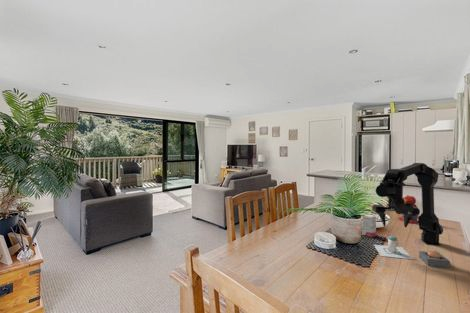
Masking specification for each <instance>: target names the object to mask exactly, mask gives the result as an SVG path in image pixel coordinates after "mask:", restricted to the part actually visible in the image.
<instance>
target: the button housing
mask: <svg viewBox="0 0 470 313" xmlns="http://www.w3.org/2000/svg"><path fill="white" fill-rule="evenodd" d="M418 258H419V259H420V260H421V261H422V262H423V263H424V264H426V265H427V266H428V267H429V266H430V267H436V268H437V267H438V268H446V269H447V268H448V269H450V268H451V267H450V266H451V261H450V259H448V258H447V257H446V256H444V255H443V254H441V253H440V259H438V258H430V257H429V256H428V255H427V251H423V250H418Z"/></svg>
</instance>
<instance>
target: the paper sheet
mask: <svg viewBox="0 0 470 313" xmlns="http://www.w3.org/2000/svg"><path fill="white" fill-rule="evenodd" d="M374 246H375V247H374ZM373 247H374V248H375V249H376V250H377V253H378V254H379V255H380V256H381V257H384V258H392V259H394V258H395V259H404V260H415V259H414V258H413V257H412V256H411V255H410V254H409V253H408V251H406V250H405V249H404V247H401V246H400V247H399V246H397V252H396V253H391V252H389V251H388V245H382V244H380V245H379V244H373Z"/></svg>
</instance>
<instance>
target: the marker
mask: <svg viewBox="0 0 470 313" xmlns="http://www.w3.org/2000/svg"><path fill="white" fill-rule="evenodd" d="M387 246H388V251H389V252H391V253H396V252H397V247H398V238H397V237H396V236H393V235H389V236H388V239H387Z"/></svg>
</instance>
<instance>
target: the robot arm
mask: <svg viewBox="0 0 470 313" xmlns="http://www.w3.org/2000/svg"><path fill="white" fill-rule="evenodd" d="M412 175H415V177H416V179H417V182H418V184H419V185H420V186H421V207H422V208H421V209H422V210H420V209H419V208H418V207H417V208H416V207H414V206H413V204H412V203H407V204H406V203H404V197H403V195H404V192H403V190H404V187H405V186H406V184H405V181H406V180H407V179H408V177H409V176H412ZM438 179H439V173H438V172H437V171H436V170H435V169H434V168H432V167H430V166H428V165H427V164H426V163H423V162H413V163H411V164H409V165H407V166H403V167H401V168H389V169H388V170H387V171H386V172H385V175H384V176H383V178H382V180H381V181H380V182H379V185H377V186H376V188H375V193H376V195H377V196H378V197H380V198H385V197H386V198H387V200H388V201H387V204H386V206H384V205H382V204H373V205H372V207H371V210H372V211H373V212H374V213H377V214H378V216H379V218H380V221H381V223H382V225H383V227H386V224H387V223H386V215H387V213H386V212H395V214H398V215H402V214H404V221H403V226H404V228H407V227H408V226H409V221H410V220H411V218H412V217H414V216H416V214H417V215H418V218H417V220H418V223H417V225H418V228H419V230H421V231H422V232H421V234H420V236H421V239H420V240H421V241H422V242H423V243H424V244H425V245H432V246H433V245H435V246H441V243H440V235H443V233H444V229H443V227H442V225H441V224H440V220H439V217H438V216H437V215H436V214H435V195H434V194H435V190H434V187H435V185H436V184H437V183H438V181H439V180H438ZM420 213H421V214H420Z"/></svg>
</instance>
